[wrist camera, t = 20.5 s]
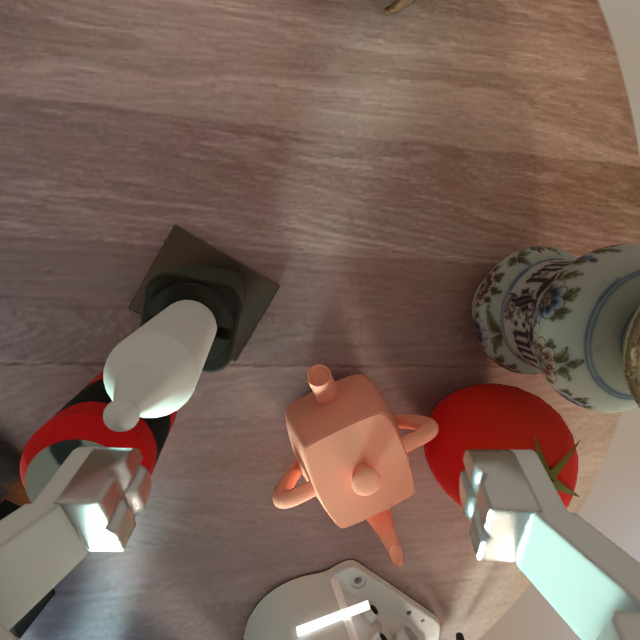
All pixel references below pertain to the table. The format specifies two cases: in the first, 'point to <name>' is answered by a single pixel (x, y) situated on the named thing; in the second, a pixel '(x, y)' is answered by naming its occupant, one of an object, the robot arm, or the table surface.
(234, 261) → the walnut board
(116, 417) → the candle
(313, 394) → the teapot
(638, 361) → the apothecary jar
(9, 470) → the bird model
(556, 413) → the tomato
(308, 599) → the robot arm
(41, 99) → the table surface
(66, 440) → the soda can
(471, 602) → the table surface
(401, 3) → the pottery mug
